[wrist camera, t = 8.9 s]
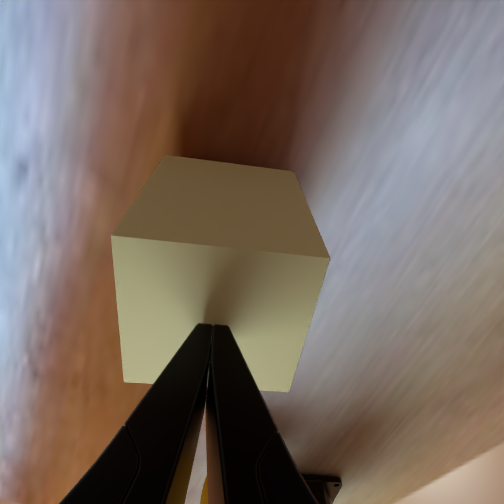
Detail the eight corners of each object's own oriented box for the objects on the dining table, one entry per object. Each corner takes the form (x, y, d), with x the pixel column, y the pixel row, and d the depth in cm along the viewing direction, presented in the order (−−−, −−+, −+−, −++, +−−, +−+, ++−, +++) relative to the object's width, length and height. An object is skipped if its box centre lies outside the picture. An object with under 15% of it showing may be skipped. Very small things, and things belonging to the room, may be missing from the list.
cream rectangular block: (272, 274, 17) (289, 392, 11) (164, 263, 16) (124, 381, 10) (293, 171, 14) (330, 258, 8) (165, 154, 13) (111, 235, 8)
